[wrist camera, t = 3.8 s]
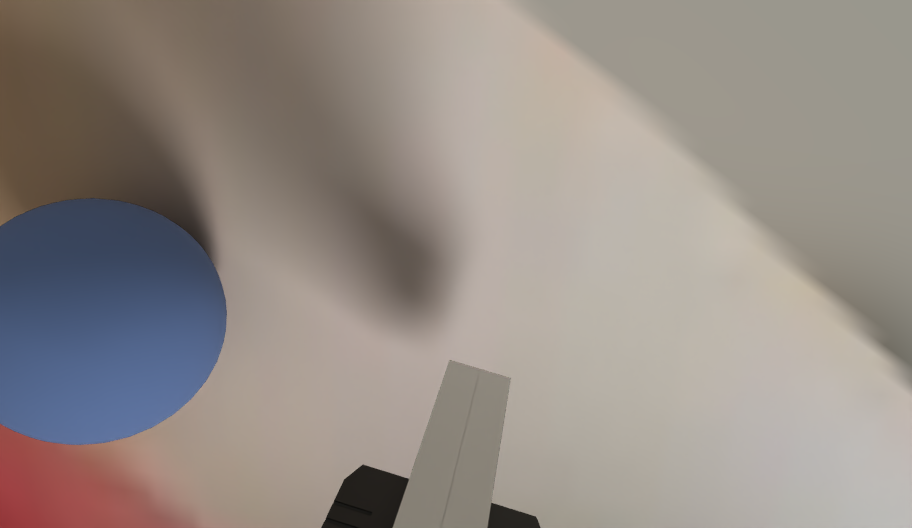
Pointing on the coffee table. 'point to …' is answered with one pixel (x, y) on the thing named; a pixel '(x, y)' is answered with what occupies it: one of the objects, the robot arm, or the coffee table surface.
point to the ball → (102, 320)
